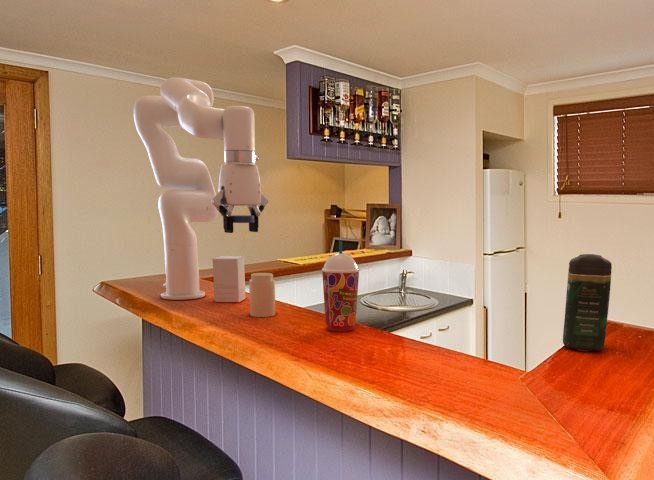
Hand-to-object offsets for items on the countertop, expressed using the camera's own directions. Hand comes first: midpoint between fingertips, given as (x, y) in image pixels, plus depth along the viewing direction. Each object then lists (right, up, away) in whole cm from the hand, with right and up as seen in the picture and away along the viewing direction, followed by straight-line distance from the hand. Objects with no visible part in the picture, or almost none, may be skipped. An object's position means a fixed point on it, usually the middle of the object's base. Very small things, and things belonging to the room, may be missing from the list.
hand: (241, 231), depth 141 cm
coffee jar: (+74, -27, -29) cm, 84 cm away
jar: (+5, -21, +1) cm, 22 cm away
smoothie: (+25, -24, -14) cm, 38 cm away
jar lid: (0, +4, -1) cm, 4 cm away
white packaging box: (-7, -18, +22) cm, 29 cm away
